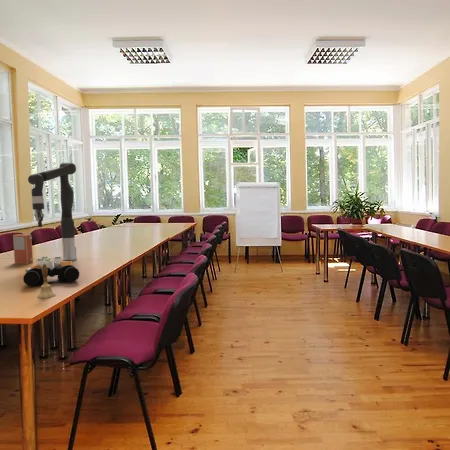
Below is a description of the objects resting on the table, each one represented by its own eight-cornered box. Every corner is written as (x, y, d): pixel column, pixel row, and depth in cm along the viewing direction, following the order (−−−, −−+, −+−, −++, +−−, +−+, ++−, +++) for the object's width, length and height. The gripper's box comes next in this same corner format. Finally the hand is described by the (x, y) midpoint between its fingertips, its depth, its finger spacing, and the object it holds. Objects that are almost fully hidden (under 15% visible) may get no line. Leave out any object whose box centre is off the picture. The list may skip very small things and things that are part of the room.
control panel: (19, 261, 311) (35, 262, 306) (12, 263, 304) (27, 264, 299) (17, 234, 309) (33, 234, 304) (10, 235, 303) (26, 235, 298)
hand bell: (33, 297, 198) (31, 265, 197) (46, 293, 206) (44, 262, 204) (46, 298, 195) (44, 266, 194) (59, 294, 203) (57, 263, 202)
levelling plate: (62, 265, 288) (61, 254, 287) (70, 268, 275) (69, 257, 274) (25, 270, 272) (24, 258, 272) (33, 274, 259) (32, 261, 259)
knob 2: (52, 267, 272) (52, 257, 271) (56, 266, 277) (55, 256, 276) (70, 267, 272) (70, 257, 271) (73, 265, 277) (72, 256, 276)
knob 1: (40, 268, 270) (39, 258, 270) (46, 268, 269) (46, 258, 269) (28, 271, 258) (27, 261, 258) (35, 271, 257) (34, 261, 257)
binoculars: (23, 288, 217) (22, 270, 217) (25, 284, 236) (24, 267, 236) (80, 282, 229) (79, 264, 229) (77, 278, 247) (76, 262, 247)
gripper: (46, 202, 284) (48, 226, 285) (40, 202, 294) (42, 226, 295) (35, 202, 279) (37, 227, 280) (29, 203, 289) (31, 227, 290)
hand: (40, 226), depth 288 cm, fingers closed
